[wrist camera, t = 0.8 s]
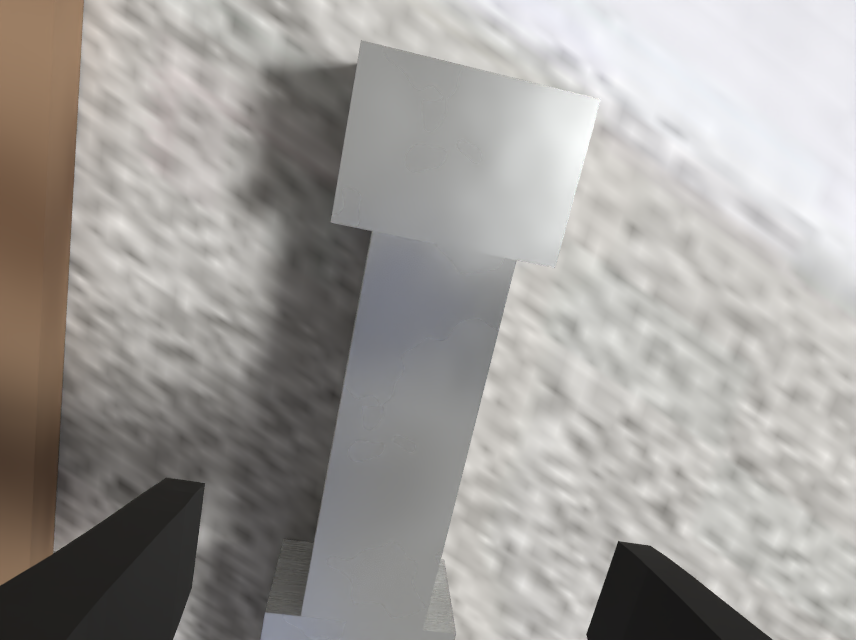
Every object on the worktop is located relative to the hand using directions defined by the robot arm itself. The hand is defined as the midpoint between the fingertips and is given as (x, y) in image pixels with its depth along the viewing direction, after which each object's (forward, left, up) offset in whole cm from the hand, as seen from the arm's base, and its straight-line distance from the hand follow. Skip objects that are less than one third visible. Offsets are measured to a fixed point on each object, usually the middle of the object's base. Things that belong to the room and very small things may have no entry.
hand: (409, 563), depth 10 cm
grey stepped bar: (0, 0, -7) cm, 7 cm away
